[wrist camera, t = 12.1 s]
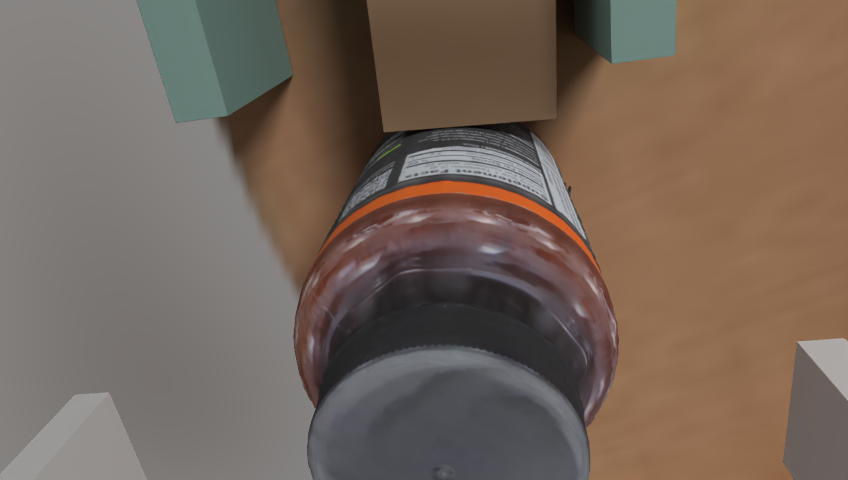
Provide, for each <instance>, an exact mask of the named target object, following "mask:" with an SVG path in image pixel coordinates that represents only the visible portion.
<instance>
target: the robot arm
mask: <svg viewBox="0 0 848 480" xmlns="http://www.w3.org/2000/svg"><path fill="white" fill-rule="evenodd" d="M783 462H784V464H785V466H786V467H787V469H788V471H789V472H790V474H791V475H792V477H793V479H794V480H848V341H847V340H846V339H845V338H840V339H827V340H813V341H800V342H797V347H796V356H795V364H794V373H793V382H792V390H791V399H790V407H789V416H788V425H787V433H786V442H785V450H784V459H783ZM0 480H147V478H146V476H145V474H144V471H143V469H142V467H141V464H140V462H139V460H138V458H137V455H136V453H135V451H134V448H133V446H132V444H131V441H130V439H129V437H128V435H127V432H126V430H125V428H124V425H123V423H122V421H121V418H120V416H119V414H118V412H117V409H116V407H115V405H114V402H113V400H112V398H111V396H110V393H109V392H108V393H107V392H106V393H93V394H79V395H74V396H73V398H71V399H70V401H69V402H68V403H67V404H66V405H65V406H64V407H63V408H62V409H61V410H60V411H59V412H58V413H57V414H56V415H55V416H54V417H53V418H52V420H51V421H50V422H49V423H48V424H47V425H46V426H45V427H44V428H43V429H42V430H41V431H40V432H39V433H38V434H37V435H36V436H35V438H34V439H33V440H32V441H31V442H30V443H29V444H28V445H27V446H26V447H25V448H24V449H23V450H22V451H21V452H20V453H19V455H17V457H16V458H15V459H14V460H13V461H12V462H11V463H10V464H9V465H8V466H7V467H6V468H5V469H4V470H3V471H2V473H0Z"/></svg>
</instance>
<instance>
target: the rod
mask: <svg viewBox="0 0 848 480" xmlns="http://www.w3.org/2000/svg"><path fill="white" fill-rule="evenodd" d="M367 7H368V15H369V23H370V30H371V38H372V46H373V54H374V61H375V69H376V77H377V84H378V92H379V100H380V108H381V115H382V123H383V131H384V132H394V131H406V130H419V129H432V128H445V127H458V126H470V125H483V124H496V123H509V122H522V121H534V120H547V119H557V68H556V0H367Z"/></svg>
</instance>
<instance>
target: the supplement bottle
mask: <svg viewBox="0 0 848 480" xmlns="http://www.w3.org/2000/svg"><path fill="white" fill-rule="evenodd" d="M570 192H571V187H570V186H569V188H568V190H567V188H566V183H564V182H563V179H562V176H561V172H560V170H559V168H558V166H557V164H556V162H555V161H554V159H553V157H552V155H551V154H550V152H549V150H548V149H547V147H546V145H545V143H544V142H543V141H542V140H541V138H540V137H539V136H538V135H537V133H536V132H534V131H533V130H532V129H531V128H530V127H529V126H528V125H527V124H526V123H525V122H523V121H522V122H509V123H496V124H483V125H470V126H458V127H445V128H432V129H419V130H406V131H394V132H389V133H388V134H387V135H386V137H385V138H384V139H383V140H382V141H381V142H380V144H379V145H378V146H377V148H376V149H375V150H374V152H373V153H372V155H371V156H370V158H369V160H368V162H367V164H366V166H365V168H364V170H363V172H362V174H361V175H360V177H359V179H358V181H357V183H356V184H355V186H354V188H353V189H352V191H351V193H350V195H349V197H348V199H347V201H346V202H345V204H344V206H343V208H342V210H341V212H340V213H339V215H338V217H337V219H336V221H335V223H334V225H333V227H332V228H331V230H330V232H329V234H328V235H327V237H326V239H325V241H324V243H323V245H322V247H321V249H320V251H319V253H318V255H317V257H316V259H315V261H314V263H313V265H312V267H311V269H310V271H309V273H308V275H307V277H306V280H305V282H304V285H303V287H302V291H301V294H300V298H299V302H298V306H297V311H296V316H295V327H294V348H295V355H296V360H297V365H298V369H299V374H300V376H301V380H302V383H303V387H304V389H305V390H306V392H307V394H308V397H309V398H310V400H311V401H312V402H313V405H314V407H315V408H316V410H315V413H314V415H313V418H312V421H311V425H310V429H309V433H308V445H307V455H308V464H309V468H310V470H311V473H312V477H313V480H588V478H589V472H590V449H589V441H588V436H587V431H586V428H587V426H588V425H590V424H591V423H592V421H593V420H594V417H595V415H596V414H597V412H598V411H599V409H600V407H601V405H602V403H603V402H604V400H605V399H606V397H607V394H608V391H609V390H610V388H611V384H612V381H613V380H614V376H615V369H616V365H617V360H618V344H619V338H618V330H617V321H616V318H615V314H614V310H613V306H612V302H611V299H610V296H609V293H608V289H607V287H606V285H605V282H604V280H603V278H602V275H601V271H600V268H599V265H598V263H597V262H596V259H595V255H594V254H593V252H592V249H591V247H590V244H589V240H588V238H587V236H586V233H585V230H584V228H583V226H582V222H581V219H580V217H579V215H578V213H577V211H576V209H575V208H574V205H573V202H572V200H571V198H570Z"/></svg>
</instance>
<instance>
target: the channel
mask: <svg viewBox="0 0 848 480" xmlns="http://www.w3.org/2000/svg"><path fill="white" fill-rule="evenodd" d="M137 3H138V6H139V9H140V12H141V16H142V19H143V22H144V25H145V28H146V31H147V34H148V37H149V40H150V43H151V47H152V50H153V53H154V56H155V59H156V62H157V65H158V69H159V72H160V75H161V78H162V81H163V84H164V87H165V90H166V93H167V96H168V100H169V103H170V106H171V109H172V112H173V115H174V118H175V121H176V123H179V122H187V121H193V120H201V119H209V118H216V117H224V116H229V115H230V114H232V113H233V112H235V111H237V110H238V109H240V108H241V107H243V106H245V105H246V104H248V103H249V102H251V101H253V100H254V99H256V98H257V97H259V96H261V95H262V94H264V93H265V92H267V91H269V90H270V89H272V88H273V87H275V86H277V85H278V84H280V83H281V82H283V81H285V80H286V79H288V78H289V77H291V76H293V73H292V69H291V64H290V60H289V56H288V52H287V47H286V43H285V39H284V34H283V30H282V26H281V22H280V17H279V13H278V9H277V4H276V0H137ZM676 8H677V0H574V23H575V35H576V36H577V37H578V38H580V39H581V40H582V41H583V42H585V43H586V44H587V45H589V46H590V47H591V48H592V49H594V50H595V51H596V52H597V53H599V54H600V55H601V56H602V57H604V58H605V59H606V60H608V61H609V62H610V63H611V64H614V63H621V62H629V61H636V60H644V59H651V58H658V57H666V56H673V55H675V54H676Z"/></svg>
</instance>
